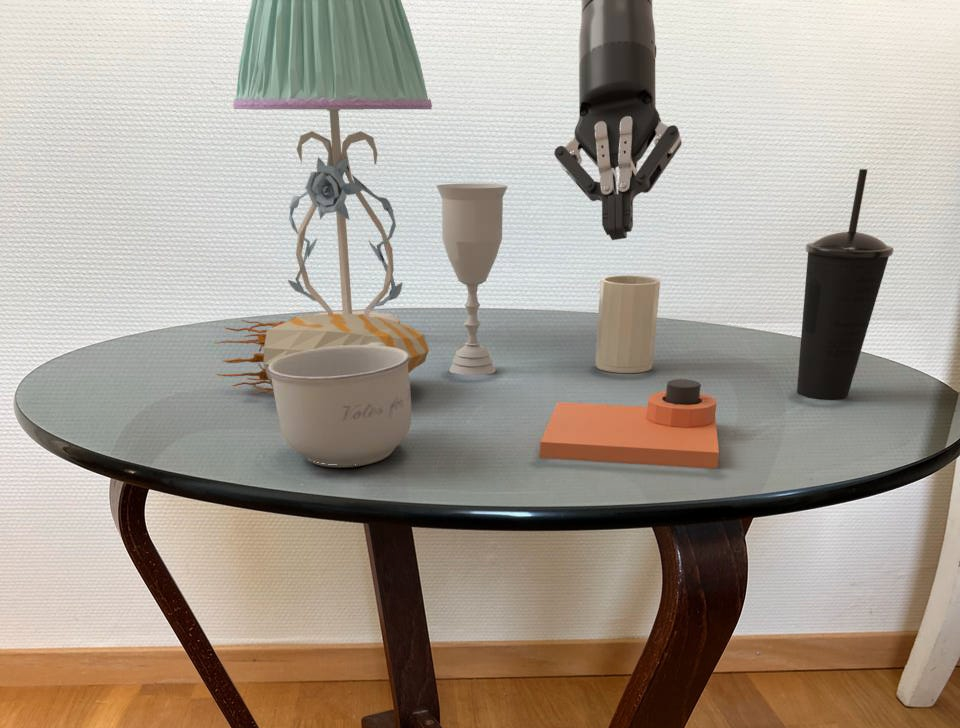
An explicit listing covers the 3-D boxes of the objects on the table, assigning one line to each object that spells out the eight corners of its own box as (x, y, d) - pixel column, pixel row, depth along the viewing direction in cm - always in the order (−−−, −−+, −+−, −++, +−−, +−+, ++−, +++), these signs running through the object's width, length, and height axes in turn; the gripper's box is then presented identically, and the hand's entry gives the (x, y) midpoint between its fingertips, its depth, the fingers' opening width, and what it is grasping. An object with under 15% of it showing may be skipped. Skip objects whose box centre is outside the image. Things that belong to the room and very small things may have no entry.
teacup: (362, 488, 70) (355, 379, 66) (249, 464, 74) (237, 361, 70) (456, 438, 80) (455, 342, 76) (353, 420, 85) (347, 329, 81)
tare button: (698, 400, 81) (700, 379, 80) (698, 408, 79) (701, 388, 78) (665, 398, 82) (667, 378, 81) (665, 407, 79) (667, 386, 79)
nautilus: (185, 408, 90) (266, 379, 103) (390, 414, 83) (449, 383, 96) (170, 321, 87) (255, 303, 99) (383, 321, 80) (445, 301, 93)
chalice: (468, 381, 97) (467, 189, 88) (426, 370, 101) (421, 185, 93) (518, 370, 101) (523, 186, 93) (476, 359, 106) (476, 182, 97)
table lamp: (224, 350, 109) (169, -77, 90) (310, 317, 127) (280, -45, 108) (396, 364, 104) (377, -89, 84) (461, 327, 121) (457, -54, 102)
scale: (712, 425, 84) (716, 392, 82) (717, 469, 73) (722, 432, 72) (556, 417, 86) (558, 384, 84) (539, 458, 76) (540, 421, 74)
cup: (653, 361, 105) (660, 276, 101) (651, 374, 100) (659, 285, 96) (597, 358, 106) (603, 274, 102) (593, 371, 101) (598, 283, 97)
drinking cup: (859, 408, 89) (907, 172, 79) (776, 399, 91) (813, 170, 82) (866, 389, 95) (912, 168, 85) (788, 381, 98) (824, 166, 88)
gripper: (542, 53, 92) (543, 231, 92) (678, 23, 87) (679, 210, 88) (561, 94, 99) (563, 259, 99) (689, 68, 95) (690, 241, 95)
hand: (617, 236), depth 93 cm, fingers closed
